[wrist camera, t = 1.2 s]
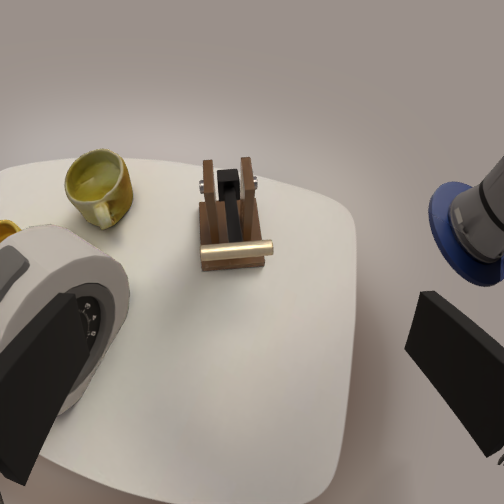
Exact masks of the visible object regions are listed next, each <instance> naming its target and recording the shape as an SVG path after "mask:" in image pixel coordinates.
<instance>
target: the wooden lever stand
mask: <svg viewBox="0 0 504 504" xmlns="http://www.w3.org/2000/svg"><path fill="white" fill-rule="evenodd" d="M199 184H200V193H201V194H203V193H204V197H205V202H199V213H200V241H201V245H212V244H223V243H228V233H227V223H226V212H225V201H221V202H219V201H216V193H215V183H214V172H213V161H212V160H204V161H203V180H201V181H200V182H199ZM256 189H257V177H256V176H255V177H253V172H252V165H251V158H250V157H242V158H241V180H240V200H237V207H238V213H239V220H240V226H241V232H242V239H243V242H248V241H260V240H262V238H261V231H260V224H259V217H258V210H257V203H256V198H254V197H255V190H256ZM201 263H202V270H203V271H211V270H223V269H235V268H246V267H258V266H264V264H265V259H264V256H257V257H245V258H233V259H221V260H210V261H201Z"/></svg>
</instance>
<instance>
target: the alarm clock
mask: <svg viewBox="0 0 504 504" xmlns="http://www.w3.org/2000/svg"><path fill="white" fill-rule="evenodd" d="M58 293H74V294H75V295H76V300H77V305H78V309H79V314H80V318H81V322H82V326H83V330H84V334H85V338H86V342H87V345H88V349H89V353H90V356H89V358H88V360H87V361H86V363H85V365H84V367H83V369H82V370H81V372H80V374H79V376H78V377H77V379H76V381H75V383H74V385H73V387H72V388H71V390H70V392H69V394H68V396H67V398H66V400H65V402H64V404H63V405H62V407H61V409H60V411H59V413H58V415H57V416H59V415H61V414H62V413H63V412H65V411H66V410H67V409H69V408H70V407H71V406H73V405H74V404H75V403H76V402H77V401H78V400H79V399H80V398H81V397H82V395H83V393H84V391H85V389H86V387H87V386H88V384H89V382H90V380H91V378H92V376H93V375H94V373H95V371H96V369H97V367H98V366H99V364H100V362H101V360H102V359H103V357H104V355H105V353H106V352H107V350H108V348H109V346H110V345H111V343H112V341H113V339H114V338H115V336H116V334H117V333H118V331H119V329H120V328H121V326H122V324H123V323H124V321H125V319H126V317H127V313H128V309H129V297H130V290H129V282H128V277H127V275H126V273H125V271H124V269H123V267H122V265H121V264H120V263H119V262H117V261H116V260H115V259H113V258H112V257H110V256H109V255H107V254H106V253H104V252H103V251H101V250H99V249H98V248H96V247H95V246H93V245H92V244H90V243H88V242H87V241H85V240H84V239H82V238H81V237H79V236H78V235H76V234H75V233H73V232H72V231H70V230H69V229H67V228H64V227H60V226H56V225H52V224H48V225H39V226H31V227H28V228H26V229H24V230H21V231H19V232H17V233H15V234H13V235H10V236H8V237H7V238H6V239H5V240H3V241H2V242H1V243H0V353H1V352H2V351H3V350H4V349H5V347H6V346H7V345H8V344H9V343H10V342H11V341H12V340H13V339H14V338H15V336H16V335H17V334H18V333H19V332H20V331H21V330H22V329H23V328H24V327H25V326H26V325H27V324H28V323H29V322H30V321H31V320H32V319H33V318H34V317H35V315H36V314H37V313H38V312H39V311H40V310H41V309H42V308H43V307H44V306H45V305H46V304H47V303H48V302H49V301H50V300H52V299H53V298H54V297H55V296H56V295H57V294H58Z"/></svg>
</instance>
